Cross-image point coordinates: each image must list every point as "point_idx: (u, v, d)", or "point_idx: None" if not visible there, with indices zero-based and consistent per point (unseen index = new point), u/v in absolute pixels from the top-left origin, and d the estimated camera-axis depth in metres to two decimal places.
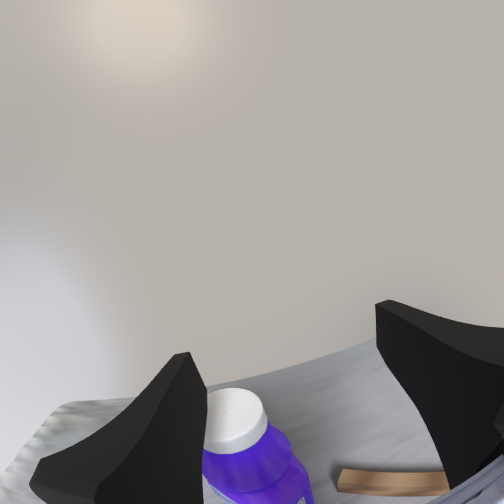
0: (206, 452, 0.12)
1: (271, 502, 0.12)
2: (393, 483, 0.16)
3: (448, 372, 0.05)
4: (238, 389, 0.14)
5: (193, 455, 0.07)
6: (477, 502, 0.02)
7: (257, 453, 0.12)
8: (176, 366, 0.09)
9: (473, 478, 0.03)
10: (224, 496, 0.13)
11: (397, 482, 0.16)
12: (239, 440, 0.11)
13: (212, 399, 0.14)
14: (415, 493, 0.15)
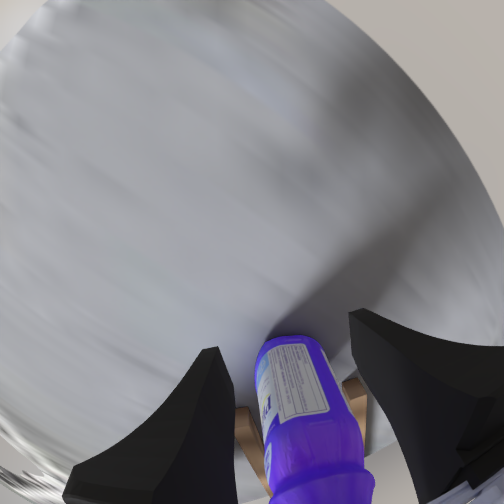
0: None
1: None
2: None
3: (413, 390, 0.05)
4: None
5: (226, 452, 0.07)
6: (477, 502, 0.02)
7: None
8: (207, 360, 0.09)
9: (473, 477, 0.03)
10: (267, 478, 0.12)
11: None
12: None
13: None
14: None
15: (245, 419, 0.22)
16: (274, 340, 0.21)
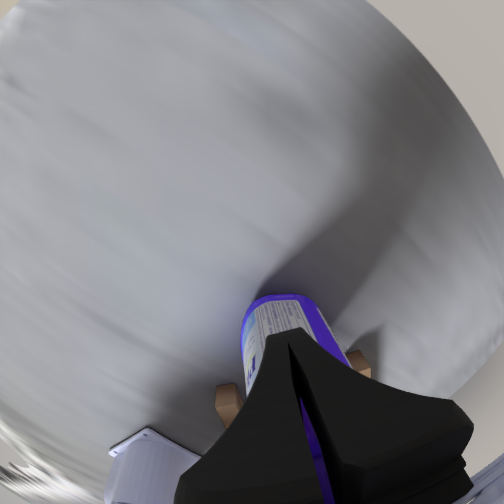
0: None
1: None
2: None
3: (319, 424, 0.05)
4: None
5: None
6: (477, 502, 0.02)
7: None
8: (281, 344, 0.09)
9: (473, 478, 0.03)
10: None
11: None
12: None
13: None
14: None
15: (231, 396, 0.20)
16: (262, 298, 0.18)
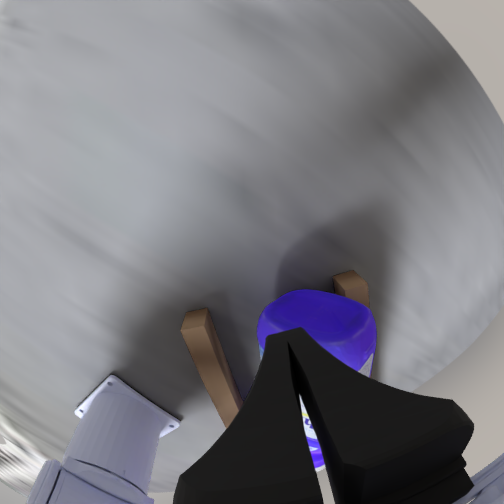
0: None
1: None
2: None
3: (319, 424, 0.05)
4: None
5: None
6: (477, 502, 0.02)
7: None
8: (281, 344, 0.09)
9: (473, 478, 0.03)
10: None
11: None
12: None
13: None
14: None
15: (201, 319, 0.18)
16: (356, 357, 0.13)
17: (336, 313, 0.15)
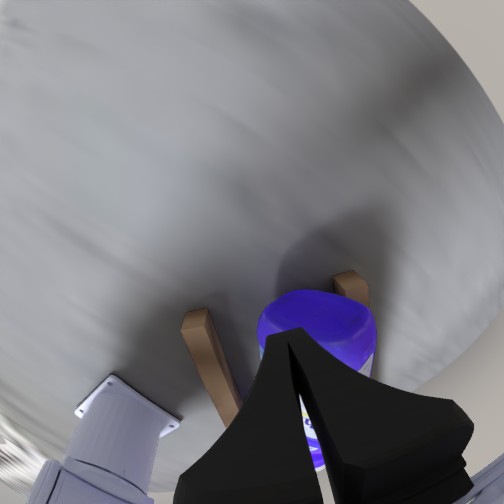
0: None
1: None
2: None
3: (319, 424, 0.05)
4: None
5: None
6: (477, 502, 0.02)
7: None
8: (281, 344, 0.09)
9: (473, 478, 0.03)
10: None
11: None
12: None
13: None
14: None
15: (201, 319, 0.18)
16: (356, 357, 0.13)
17: (336, 313, 0.15)
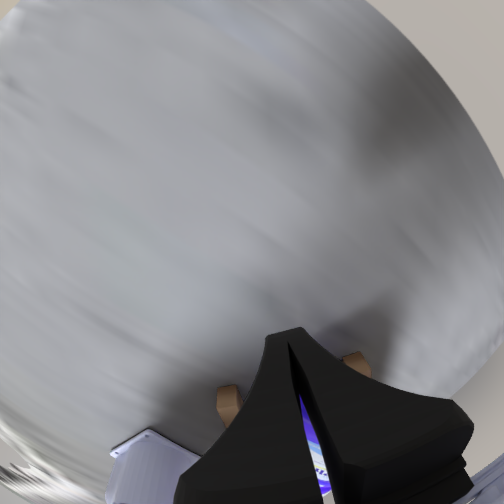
0: None
1: None
2: None
3: (319, 424, 0.05)
4: None
5: None
6: (477, 502, 0.02)
7: None
8: (281, 344, 0.09)
9: (473, 478, 0.03)
10: None
11: None
12: None
13: None
14: None
15: (232, 398, 0.20)
16: None
17: None
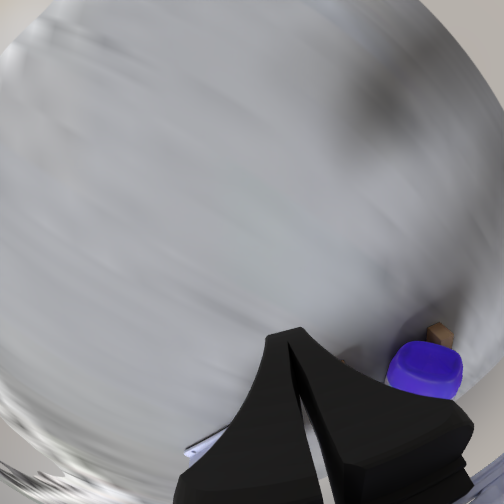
0: None
1: None
2: None
3: (319, 424, 0.05)
4: None
5: None
6: (477, 502, 0.02)
7: None
8: (281, 344, 0.09)
9: (473, 478, 0.03)
10: None
11: None
12: None
13: None
14: None
15: None
16: (457, 387, 0.16)
17: (441, 359, 0.19)
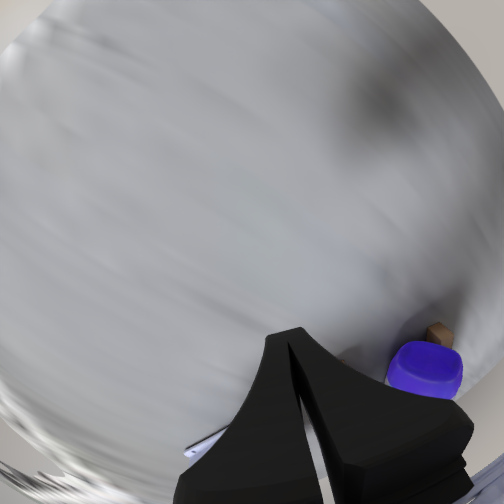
0: None
1: None
2: None
3: (319, 424, 0.05)
4: None
5: None
6: (477, 502, 0.02)
7: None
8: (281, 344, 0.09)
9: (473, 478, 0.03)
10: None
11: None
12: None
13: None
14: None
15: None
16: (457, 387, 0.16)
17: (442, 359, 0.19)
